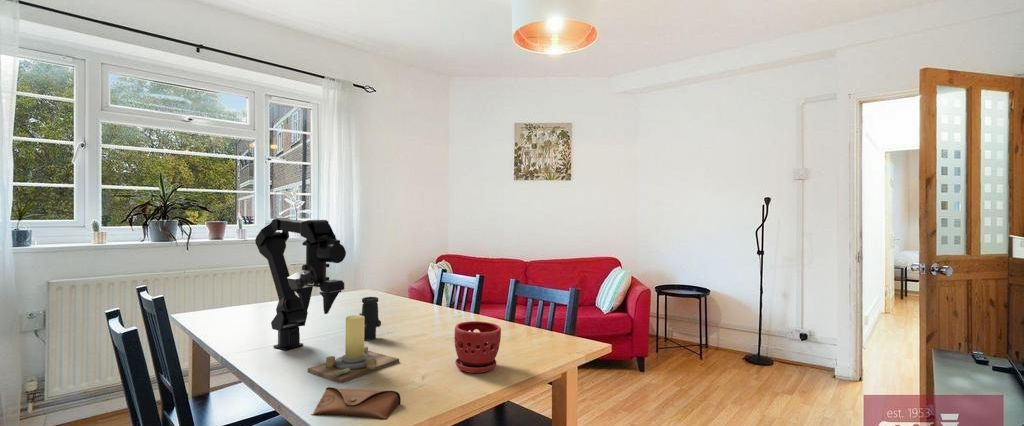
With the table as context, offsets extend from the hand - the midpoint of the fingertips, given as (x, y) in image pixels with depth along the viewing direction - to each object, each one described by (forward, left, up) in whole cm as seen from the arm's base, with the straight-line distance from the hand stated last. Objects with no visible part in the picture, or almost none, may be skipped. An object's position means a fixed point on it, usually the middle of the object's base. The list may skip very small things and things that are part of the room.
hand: (315, 311), depth 141 cm
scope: (0, +21, -13) cm, 25 cm away
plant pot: (+49, +15, -13) cm, 53 cm away
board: (+19, -2, -13) cm, 23 cm away
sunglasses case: (+40, -21, -14) cm, 48 cm away
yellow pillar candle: (+19, -2, -11) cm, 22 cm away
